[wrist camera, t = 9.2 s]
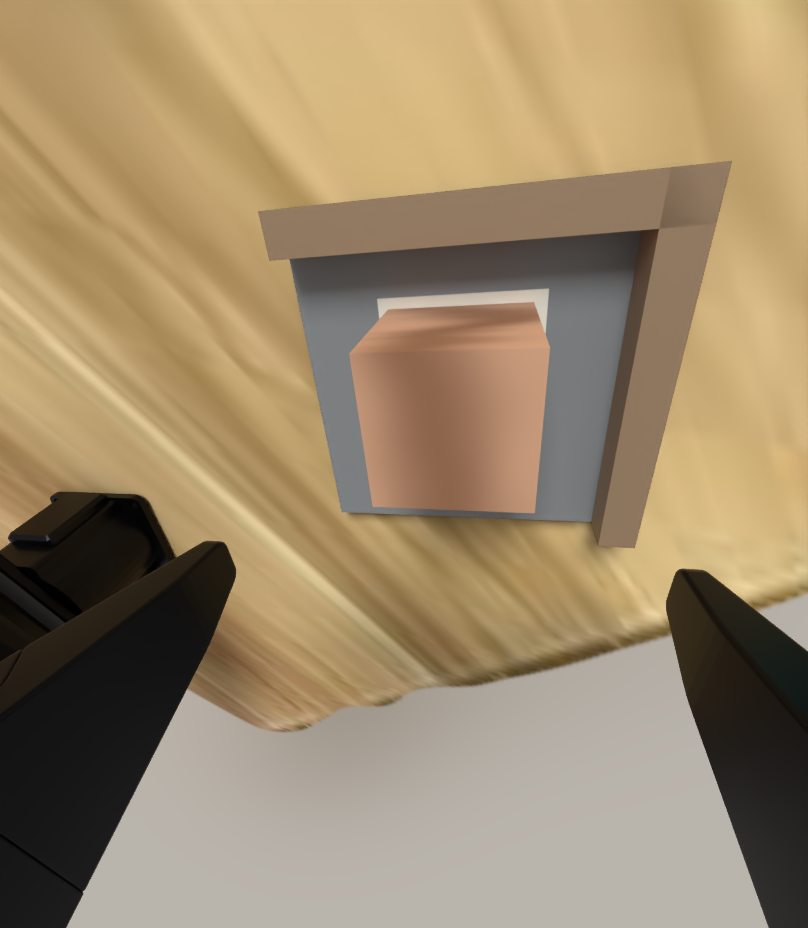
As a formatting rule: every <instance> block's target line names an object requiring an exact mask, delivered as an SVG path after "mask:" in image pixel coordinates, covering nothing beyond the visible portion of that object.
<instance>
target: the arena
mask: <svg viewBox="0 0 808 928" xmlns="http://www.w3.org/2000/svg"><path fill="white" fill-rule="evenodd" d="M731 163H732V161H727V162H717V163H708V164H699V165H689V166H680V167H671V168H661V169H652V170H642V171H633V172H624V173H614V174H605V175H595V176H586V177H577V178H567V179H558V180H548V181H539V182H530V183H520V184H511V185H501V186H492V187H483V188H473V189H464V190H455V191H445V192H436V193H426V194H417V195H408V196H398V197H389V198H379V199H370V200H361V201H351V202H342V203H332V204H323V205H314V206H304V207H295V208H286V209H276V210H267V211H258V213H259V217H260V221H261V226H262V230H263V235H264V239H265V243H266V248H267V252H268V256H269V261H271V260H283V259H290V264H291V268H292V273H293V278H294V283H295V288H296V293H297V297H298V302H299V307H300V312H301V317H302V322H303V326H304V331H305V336H306V341H307V346H308V351H309V355H310V360H311V365H312V370H313V375H314V379H315V384H316V389H317V394H318V399H319V404H320V408H321V413H322V418H323V423H324V428H325V433H326V437H327V442H328V447H329V452H330V457H331V462H332V466H333V471H334V476H335V481H336V486H337V490H338V495H339V500H340V505H341V510H342V512H352V513H377V514H403V515H428V516H453V517H479V518H504V519H529V520H555V521H580V522H591V524H592V527H593V530H594V534H595V537H596V541H597V544H598V546H602V547H622V548H635V545H636V541H637V537H638V533H639V529H640V525H641V521H642V517H643V513H644V509H645V505H646V501H647V497H648V493H649V489H650V485H651V481H652V477H653V473H654V469H655V465H656V461H657V457H658V453H659V449H660V445H661V441H662V437H663V433H664V430H665V426H666V422H667V418H668V414H669V410H670V406H671V402H672V398H673V394H674V390H675V386H676V382H677V378H678V374H679V370H680V366H681V362H682V358H683V354H684V350H685V346H686V342H687V338H688V334H689V330H690V326H691V322H692V318H693V314H694V310H695V306H696V302H697V298H698V294H699V290H700V287H701V283H702V279H703V275H704V271H705V267H706V263H707V259H708V255H709V251H710V247H711V243H712V239H713V235H714V231H715V227H716V223H717V219H718V215H719V211H720V207H721V203H722V199H723V195H724V191H725V187H726V183H727V179H728V175H729V171H730V167H731ZM524 302H534V303H535V306H536V309H537V312H538V315H539V318H540V320H541V323H542V326H543V329H544V332H545V335H546V337H547V340H548V343H549V346H550V354H549V365H548V376H547V386H546V397H545V408H544V419H543V430H542V440H541V451H540V462H539V473H538V484H537V494H536V505H535V513H513V512H488V511H463V510H439V509H414V508H389V507H373V506H372V500H371V493H370V487H369V480H368V474H367V467H366V461H365V454H364V447H363V441H362V434H361V428H360V421H359V415H358V408H357V402H356V395H355V389H354V382H353V376H352V369H351V363H350V356H349V353H350V352H351V351H352V350H353V349H354V347H355V346H356V345H357V344H358V343H359V342H360V341H361V340H362V338H363V337H364V336H365V335H366V334H367V333H368V332H369V330H370V329H371V328H372V327H373V326H374V325H375V324H376V323H377V321H378V320H379V319H380V318H381V317H382V316H383V315H384V313H385V312H386V311H387V310H388V309H404V308H424V307H444V306H464V305H484V304H504V303H524Z"/></svg>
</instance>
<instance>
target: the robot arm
mask: <svg viewBox="0 0 808 928" xmlns="http://www.w3.org/2000/svg"><path fill="white" fill-rule="evenodd" d="M50 500H51V502H52V504H50V505H49V506H48V507H46V508H45V509H43V510H42V511H41V512H39V513H38V514H36V515H35V516H34V517H32V518H31V519H29V520H28V521H27V522H25V523H24V524H22V525H21V526H20V527H18V528H17V529H15V530H14V531H12V532H11V533H10V535H9V536H8V539H9V541H10V542H11V543H9V544H8V545H7V546H5V547H4V548H3V549H1V550H0V928H66V927H67V925H68V923H69V921H70V919H71V917H72V915H73V913H74V911H75V909H76V907H77V905H78V903H79V902H80V900H81V897H82V895H83V891H84V890H85V889H86V887H87V885H88V883H89V881H90V879H91V877H92V875H93V873H94V871H95V869H96V867H97V865H98V863H99V861H100V859H101V857H102V855H103V854H104V852H105V850H106V847H107V846H108V844H109V842H110V840H111V838H112V836H113V834H114V832H115V830H116V828H117V826H118V824H119V822H120V820H121V818H122V816H123V814H124V812H125V810H126V808H127V806H128V804H129V802H130V800H131V798H132V796H133V794H134V792H135V790H136V788H137V786H138V785H139V783H140V781H141V779H142V777H143V775H144V773H145V771H146V769H147V767H148V765H149V763H150V761H151V759H152V757H153V755H154V753H155V751H156V749H157V747H158V745H159V743H160V741H161V739H162V737H163V735H164V733H165V731H166V729H167V727H168V725H169V723H170V721H171V719H172V717H173V715H174V714H175V711H176V710H177V708H178V705H179V704H180V702H181V700H182V698H183V696H184V694H185V692H186V690H187V688H188V686H189V684H190V682H191V680H192V678H193V676H194V674H195V672H196V670H197V668H198V666H199V664H200V662H201V660H202V658H203V656H204V654H205V652H206V650H207V648H208V646H209V644H210V642H211V639H212V637H213V635H214V632H215V630H216V627H217V625H218V622H219V619H220V617H221V614H222V612H223V609H224V607H225V604H226V601H227V599H228V596H229V594H230V591H231V589H232V586H233V584H234V581H235V578H236V568H235V565H234V562H233V560H232V557H231V555H230V553H229V550H228V548H227V546H226V544H225V543H224V542H220V541H205V542H202V543H201V544H199V545H197V546H195V547H194V548H192V549H190V550H189V551H187V552H185V553H184V554H182V555H180V556H179V557H177V558H175V559H174V558H173V556H172V554H171V552H170V550H169V548H168V546H167V544H166V542H165V540H164V538H163V536H162V534H161V532H160V530H159V528H158V526H157V524H156V522H155V520H154V518H153V516H152V514H151V512H150V510H149V508H148V506H147V504H146V502H145V500H144V499H143V498H142V497H141V496H139V495H135V494H109V493H85V492H57V493H55V494H54V495H52V496H51V497H50ZM666 611H667V616H668V620H669V624H670V629H671V633H672V637H673V642H674V646H675V650H676V654H677V658H678V663H679V667H680V671H681V676H682V680H683V684H684V688H685V691H686V696H687V699H688V702H689V705H690V708H691V711H692V714H693V717H694V719H695V722H696V725H697V728H698V730H699V733H700V736H701V739H702V742H703V745H704V747H705V750H706V753H707V756H708V758H709V761H710V764H711V767H712V770H713V773H714V775H715V778H716V781H717V784H718V787H719V790H720V792H721V795H722V798H723V801H724V804H725V806H726V809H727V812H728V815H729V818H730V820H731V823H732V826H733V829H734V831H735V834H736V837H737V840H738V843H739V845H740V848H741V851H742V854H743V857H744V860H745V863H746V865H747V868H748V871H749V874H750V876H751V879H752V882H753V885H754V888H755V891H756V893H757V896H758V899H759V901H760V905H761V907H762V910H763V913H764V916H765V919H766V922H767V924H768V927H769V928H808V651H807V650H806V649H804V648H803V647H802V646H800V645H799V644H798V643H797V642H795V641H794V640H793V639H791V638H790V637H789V636H788V635H787V634H785V633H784V632H783V631H781V630H780V629H779V628H778V627H776V626H775V625H774V624H772V623H771V622H770V621H769V620H768V619H766V618H765V617H764V616H762V615H761V614H760V613H759V612H757V611H756V610H755V609H754V608H752V607H751V606H750V605H749V604H747V603H746V602H745V601H743V600H742V599H741V598H740V597H738V596H737V595H736V594H735V593H733V592H732V591H731V590H730V589H728V588H727V587H726V586H724V585H723V584H722V583H721V582H719V581H718V580H717V579H716V578H714V577H713V576H712V575H711V574H709V573H708V572H706V571H704V570H697V569H679V570H678V571H677V572H676V573H675V576H674V579H673V582H672V585H671V588H670V591H669V594H668V597H667V600H666Z"/></svg>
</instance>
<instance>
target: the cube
mask: <svg viewBox="0 0 808 928" xmlns="http://www.w3.org/2000/svg"><path fill="white" fill-rule="evenodd" d="M549 354H550V346H549V343H548V340H547V337H546V335H545V332H544V329H543V326H542V323H541V320H540V318H539V315H538V312H537V309H536V306H535V303H534V302H524V303H504V304H484V305H464V306H444V307H424V308H404V309H388V310H387V311H386V312H385V313H384V315H383V316H382V317H381V318H380V319H379V320H378V321H377V323H376V324H375V325H374V326H373V327H372V328H371V329H370V330H369V332H368V333H367V334H366V335H365V336H364V337H363V338H362V340H361V341H360V342H359V343H358V344H357V345H356V346H355V347H354V349H353V350H352V351H351V352H350V353H349V356H350V363H351V369H352V376H353V382H354V389H355V395H356V402H357V408H358V415H359V421H360V428H361V434H362V441H363V447H364V454H365V461H366V467H367V474H368V480H369V487H370V493H371V500H372V506H373V507H389V508H414V509H439V510H463V511H488V512H513V513H535V505H536V494H537V484H538V473H539V462H540V451H541V440H542V430H543V419H544V408H545V397H546V386H547V376H548V365H549Z"/></svg>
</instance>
